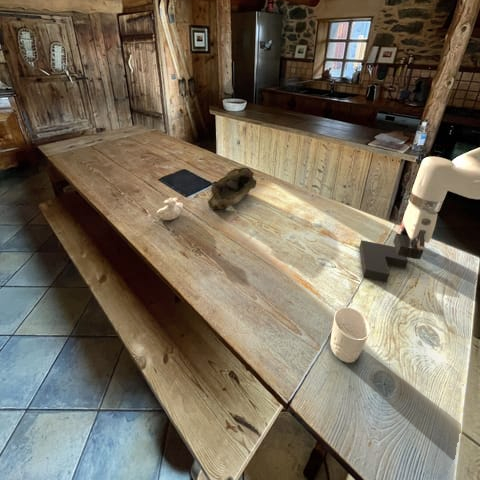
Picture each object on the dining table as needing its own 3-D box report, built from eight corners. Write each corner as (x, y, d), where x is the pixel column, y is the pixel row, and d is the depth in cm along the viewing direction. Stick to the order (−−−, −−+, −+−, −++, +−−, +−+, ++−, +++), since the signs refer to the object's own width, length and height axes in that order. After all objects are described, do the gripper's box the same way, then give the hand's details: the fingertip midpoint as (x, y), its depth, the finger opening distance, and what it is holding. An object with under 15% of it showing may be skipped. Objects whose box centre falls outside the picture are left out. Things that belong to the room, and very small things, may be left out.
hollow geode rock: (250, 195, 137) (236, 170, 139) (265, 187, 128) (250, 160, 130) (209, 218, 118) (193, 188, 120) (223, 210, 109) (206, 178, 111)
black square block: (414, 245, 84) (417, 237, 82) (419, 259, 78) (423, 250, 77) (393, 241, 85) (396, 233, 84) (397, 254, 80) (400, 246, 78)
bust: (158, 227, 110) (163, 218, 102) (151, 211, 112) (155, 201, 104) (184, 216, 117) (191, 207, 108) (177, 201, 119) (183, 191, 111)
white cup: (357, 373, 62) (367, 347, 57) (324, 353, 65) (330, 327, 61) (363, 343, 68) (372, 317, 63) (332, 326, 71) (338, 301, 67)
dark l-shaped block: (401, 256, 95) (403, 248, 93) (411, 288, 83) (414, 280, 81) (359, 247, 98) (361, 240, 97) (363, 276, 86) (365, 269, 85)
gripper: (453, 221, 65) (429, 274, 73) (430, 187, 80) (412, 233, 88) (419, 215, 67) (399, 267, 75) (402, 183, 82) (387, 229, 90)
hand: (406, 248), depth 82 cm, fingers closed on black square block, 6 cm apart
